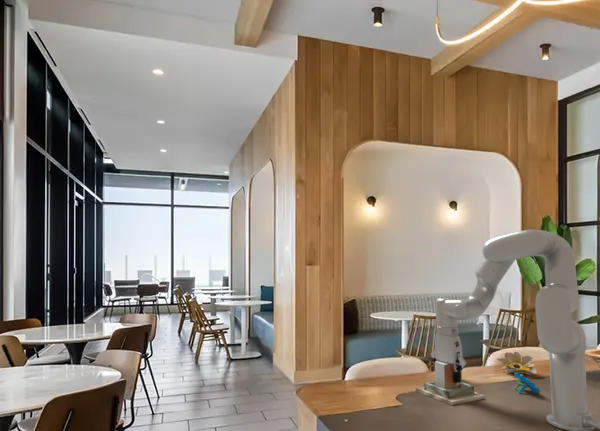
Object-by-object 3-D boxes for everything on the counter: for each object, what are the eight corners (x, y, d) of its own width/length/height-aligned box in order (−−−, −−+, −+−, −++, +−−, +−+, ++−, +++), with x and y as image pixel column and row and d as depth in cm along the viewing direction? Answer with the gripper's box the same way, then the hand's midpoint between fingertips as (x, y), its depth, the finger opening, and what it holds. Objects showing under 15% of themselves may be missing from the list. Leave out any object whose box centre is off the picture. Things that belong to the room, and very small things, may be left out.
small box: (444, 394, 157) (443, 364, 158) (434, 390, 162) (434, 361, 163) (462, 392, 159) (461, 363, 160) (452, 388, 164) (451, 359, 165)
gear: (546, 393, 157) (524, 372, 159) (536, 405, 156) (514, 384, 158) (531, 388, 168) (511, 369, 170) (521, 399, 167) (501, 380, 169)
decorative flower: (498, 372, 185) (498, 348, 188) (495, 372, 195) (495, 349, 198) (537, 377, 180) (537, 353, 183) (532, 377, 191) (532, 354, 194)
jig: (484, 398, 156) (483, 387, 156) (451, 405, 149) (451, 394, 149) (446, 385, 172) (446, 376, 172) (415, 391, 165) (415, 381, 165)
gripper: (472, 334, 156) (474, 384, 155) (437, 327, 172) (438, 373, 170) (457, 335, 153) (459, 387, 151) (423, 328, 168) (424, 375, 167)
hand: (448, 379), depth 161 cm, fingers open, 7 cm apart
